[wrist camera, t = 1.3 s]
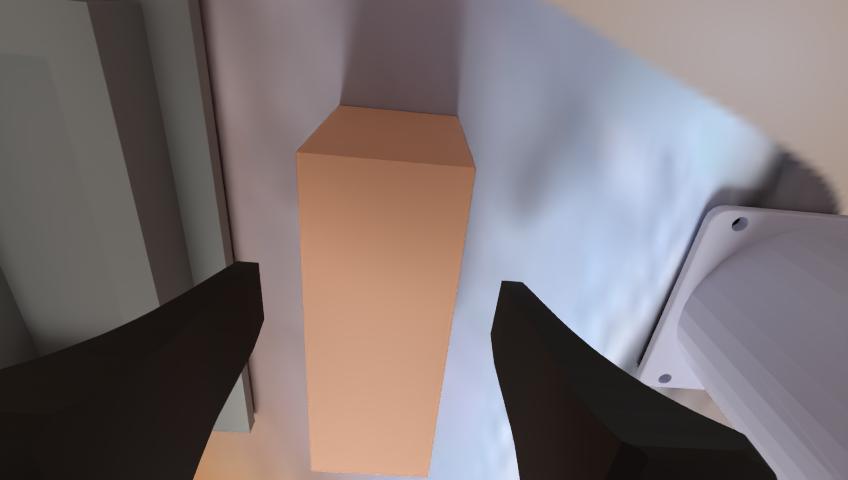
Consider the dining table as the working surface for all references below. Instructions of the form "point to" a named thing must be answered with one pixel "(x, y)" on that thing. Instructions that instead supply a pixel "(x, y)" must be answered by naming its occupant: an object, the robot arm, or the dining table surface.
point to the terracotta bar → (380, 282)
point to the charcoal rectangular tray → (106, 173)
